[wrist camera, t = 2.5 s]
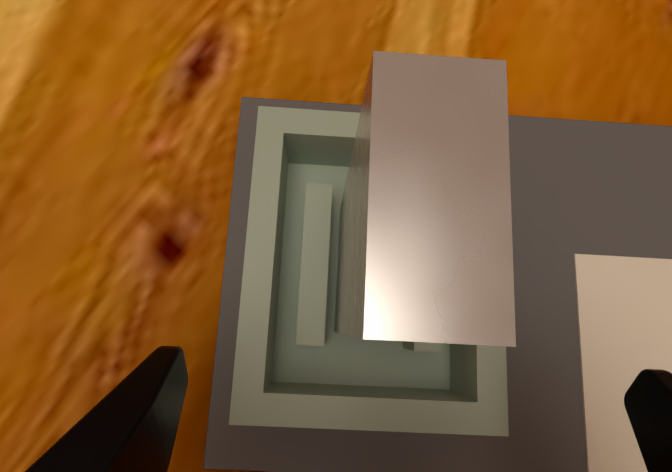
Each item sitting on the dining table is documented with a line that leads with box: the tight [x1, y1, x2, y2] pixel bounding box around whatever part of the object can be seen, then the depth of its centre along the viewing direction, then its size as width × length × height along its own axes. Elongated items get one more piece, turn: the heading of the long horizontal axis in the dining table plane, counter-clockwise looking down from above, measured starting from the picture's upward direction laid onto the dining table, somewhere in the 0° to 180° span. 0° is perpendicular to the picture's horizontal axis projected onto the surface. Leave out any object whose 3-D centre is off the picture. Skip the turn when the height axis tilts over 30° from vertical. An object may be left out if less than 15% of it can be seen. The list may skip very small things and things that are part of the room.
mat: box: [203, 97, 672, 472], centre depth 19 cm, size 16×25×1 cm, turn 87°
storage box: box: [229, 106, 509, 436], centre depth 17 cm, size 11×9×4 cm
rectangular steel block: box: [334, 51, 516, 347], centre depth 13 cm, size 5×2×11 cm, turn 177°
